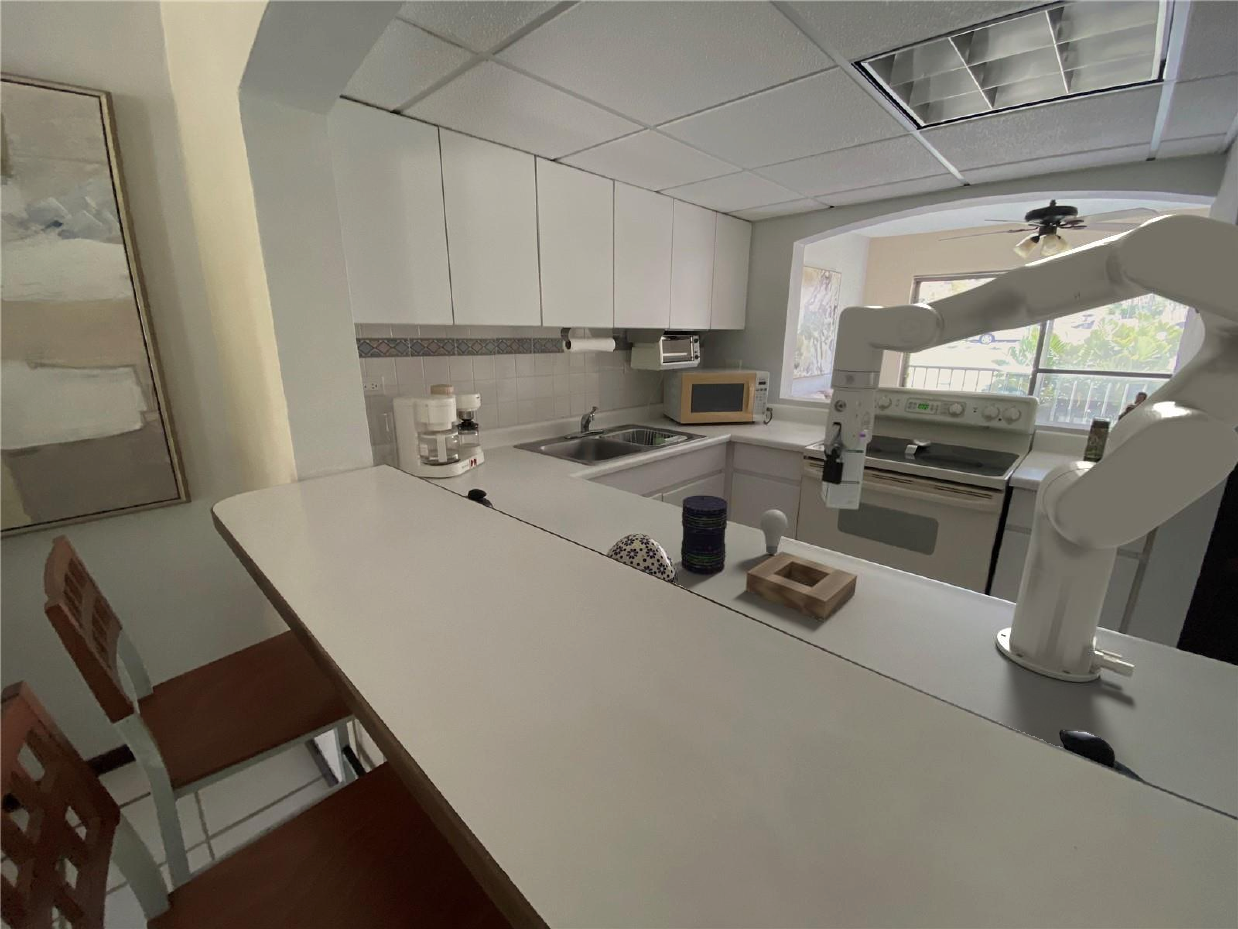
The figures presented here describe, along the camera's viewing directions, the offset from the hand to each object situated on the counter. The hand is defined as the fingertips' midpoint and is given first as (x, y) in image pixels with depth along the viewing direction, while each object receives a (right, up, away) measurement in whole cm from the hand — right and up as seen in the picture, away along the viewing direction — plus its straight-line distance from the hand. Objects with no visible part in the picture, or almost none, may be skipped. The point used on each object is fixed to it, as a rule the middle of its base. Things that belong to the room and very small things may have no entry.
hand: (841, 477), depth 90 cm
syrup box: (0, -5, +1) cm, 5 cm away
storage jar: (-22, -21, +21) cm, 36 cm away
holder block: (-4, -23, +9) cm, 25 cm away
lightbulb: (-5, -19, +26) cm, 33 cm away
